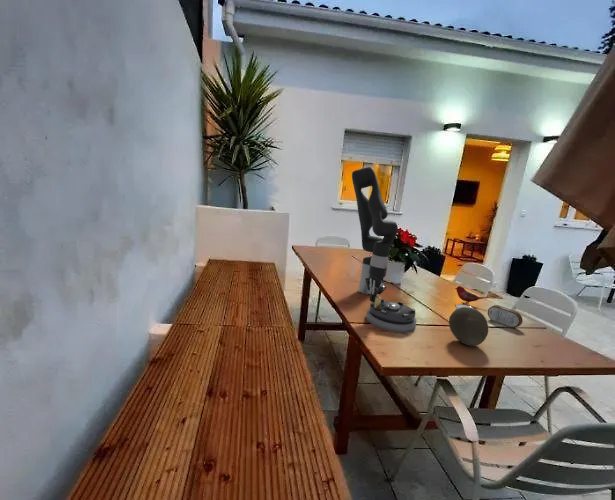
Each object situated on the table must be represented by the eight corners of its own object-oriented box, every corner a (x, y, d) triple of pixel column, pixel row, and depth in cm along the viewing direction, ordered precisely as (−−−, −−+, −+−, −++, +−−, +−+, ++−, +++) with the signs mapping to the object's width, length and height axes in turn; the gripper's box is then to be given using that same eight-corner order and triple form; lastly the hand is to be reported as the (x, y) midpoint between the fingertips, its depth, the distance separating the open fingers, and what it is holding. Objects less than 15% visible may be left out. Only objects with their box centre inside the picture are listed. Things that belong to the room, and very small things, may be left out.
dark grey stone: (477, 339, 132) (484, 306, 129) (488, 355, 118) (497, 319, 116) (442, 332, 135) (449, 300, 132) (449, 347, 121) (457, 312, 118)
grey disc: (396, 305, 153) (398, 289, 152) (424, 322, 135) (427, 304, 133) (361, 307, 146) (363, 289, 144) (385, 325, 128) (389, 305, 126)
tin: (520, 329, 148) (524, 313, 146) (518, 331, 146) (522, 314, 144) (487, 317, 159) (491, 302, 158) (485, 318, 158) (488, 303, 156)
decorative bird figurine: (451, 300, 182) (455, 284, 180) (485, 307, 176) (489, 290, 174) (452, 302, 179) (455, 285, 177) (486, 308, 173) (490, 291, 171)
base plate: (381, 308, 156) (382, 303, 156) (423, 324, 142) (424, 318, 141) (357, 318, 140) (357, 312, 140) (401, 337, 126) (402, 330, 125)
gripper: (363, 260, 140) (357, 296, 144) (381, 269, 129) (374, 307, 133) (376, 260, 144) (370, 295, 147) (395, 269, 132) (388, 306, 136)
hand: (372, 301), depth 140 cm, fingers closed
